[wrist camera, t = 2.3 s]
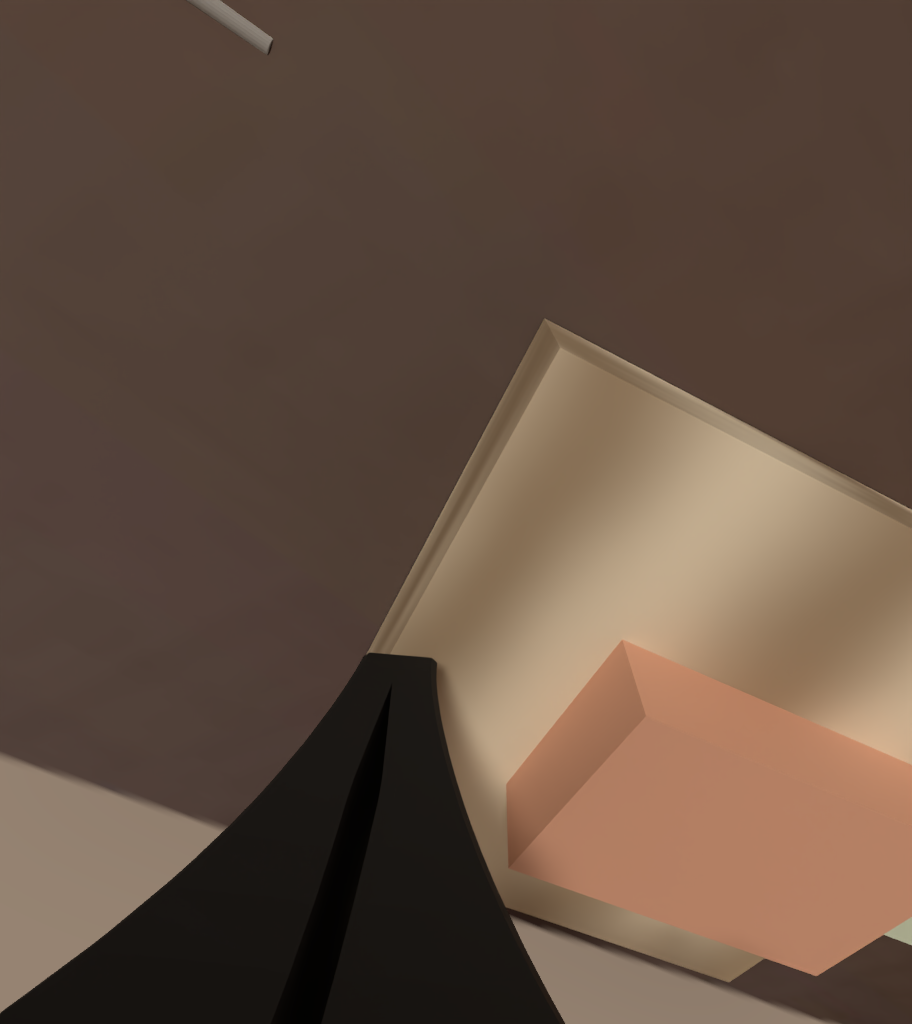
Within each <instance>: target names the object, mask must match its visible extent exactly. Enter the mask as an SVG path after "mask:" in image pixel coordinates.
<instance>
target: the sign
mask: <svg viewBox="0 0 912 1024" xmlns="http://www.w3.org/2000/svg"><path fill="white" fill-rule="evenodd" d="M186 1H188V2H189V3H191V4H192V5H194V6H195V7H197V8H198V9H200V10H201V11H203V12H204V13H206V14H207V15H209V16H210V17H212V18H213V19H214V20H216V21H217V22H219V23H220V24H222V25H223V26H225V27H226V28H228V29H229V30H231V31H232V32H234V33H235V34H237V35H238V36H240V37H241V38H243V39H244V40H246V41H247V42H249V43H250V44H252V45H253V46H254V47H256V48H257V49H259V50H260V51H262V52H263V53H265V54H267V55H268V52H269V49H270V46H271V43H272V41H273V39H272V38H271V37H270V36H268V35H267V34H266V33H264V32H263V31H262V30H260V29H259V28H257V27H256V26H255V25H253V24H252V23H250V22H249V21H248V20H246V19H245V18H244V17H242V16H241V15H239V14H238V13H237V12H235V11H234V10H232V9H231V8H230V7H228V6H227V5H225V4H224V3H223V2H221V1H220V0H186Z"/></svg>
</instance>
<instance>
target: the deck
mask: <svg viewBox="0 0 912 1024" xmlns="http://www.w3.org/2000/svg"><path fill="white" fill-rule="evenodd" d="M621 640H625V641H627V642H629V643H632V644H634V645H636V646H639V647H641V648H643V649H646V650H648V651H650V652H652V653H655V654H657V655H659V656H662V657H664V658H666V659H669V660H671V661H673V662H676V663H678V664H680V665H682V666H685V667H687V668H689V669H692V670H694V671H696V672H699V673H701V674H703V675H705V676H708V677H710V678H712V679H715V680H717V681H719V682H722V683H724V684H726V685H729V686H731V687H733V688H735V689H738V690H740V691H742V692H745V693H747V694H749V695H752V696H754V697H756V698H758V699H761V700H763V701H765V702H768V703H770V704H772V705H775V706H777V707H779V708H782V709H784V710H786V711H788V712H791V713H793V714H795V715H798V716H800V717H802V718H805V719H807V720H809V721H812V722H814V723H816V724H818V725H821V726H823V727H825V728H828V729H830V730H832V731H835V732H837V733H839V734H841V735H844V736H846V737H848V738H851V739H853V740H855V741H858V742H860V743H862V744H865V745H867V746H869V747H871V748H874V749H876V750H878V751H881V752H883V753H885V754H888V755H890V756H892V757H895V758H897V759H899V760H901V761H904V762H906V763H908V764H911V765H912V510H911V509H909V508H907V507H905V506H903V505H901V504H899V503H897V502H896V501H894V500H892V499H890V498H888V497H886V496H884V495H882V494H880V493H878V492H876V491H874V490H873V489H871V488H869V487H867V486H865V485H863V484H861V483H859V482H857V481H855V480H853V479H851V478H850V477H848V476H846V475H844V474H842V473H840V472H838V471H836V470H834V469H832V468H830V467H828V466H827V465H825V464H823V463H821V462H819V461H817V460H815V459H813V458H811V457H809V456H807V455H805V454H804V453H802V452H800V451H798V450H796V449H794V448H792V447H790V446H788V445H786V444H784V443H782V442H781V441H779V440H777V439H775V438H773V437H771V436H769V435H767V434H765V433H763V432H761V431H759V430H758V429H756V428H754V427H752V426H750V425H748V424H746V423H744V422H742V421H740V420H738V419H736V418H735V417H733V416H731V415H729V414H727V413H725V412H723V411H721V410H719V409H717V408H715V407H713V406H712V405H710V404H708V403H706V402H704V401H702V400H700V399H698V398H696V397H694V396H692V395H690V394H689V393H687V392H685V391H683V390H681V389H679V388H677V387H675V386H673V385H671V384H669V383H667V382H666V381H664V380H662V379H660V378H658V377H656V376H654V375H652V374H650V373H648V372H646V371H644V370H643V369H641V368H639V367H637V366H635V365H633V364H631V363H629V362H627V361H625V360H623V359H621V358H620V357H618V356H616V355H614V354H612V353H610V352H608V351H606V350H604V349H602V348H600V347H598V346H597V345H595V344H593V343H591V342H589V341H587V340H585V339H583V338H581V337H579V336H577V335H575V334H574V333H572V332H570V331H568V330H566V329H564V328H562V327H560V326H558V325H556V324H554V323H552V322H551V321H549V320H547V319H545V318H544V320H543V322H542V324H541V325H540V327H539V329H538V331H537V333H536V335H535V337H534V339H533V341H532V342H531V344H530V346H529V348H528V350H527V352H526V354H525V356H524V358H523V359H522V361H521V363H520V365H519V367H518V369H517V371H516V373H515V375H514V376H513V378H512V380H511V382H510V384H509V386H508V388H507V390H506V392H505V393H504V395H503V397H502V399H501V401H500V403H499V405H498V407H497V409H496V410H495V412H494V414H493V416H492V418H491V420H490V422H489V424H488V426H487V427H486V429H485V431H484V433H483V435H482V437H481V439H480V441H479V443H478V444H477V446H476V448H475V450H474V452H473V454H472V456H471V458H470V460H469V461H468V463H467V465H466V467H465V469H464V471H463V473H462V475H461V477H460V478H459V480H458V482H457V484H456V486H455V488H454V490H453V492H452V494H451V495H450V497H449V499H448V501H447V503H446V505H445V507H444V509H443V511H442V512H441V514H440V516H439V518H438V520H437V522H436V524H435V526H434V528H433V529H432V531H431V533H430V535H429V537H428V539H427V541H426V543H425V545H424V546H423V548H422V550H421V552H420V554H419V556H418V558H417V560H416V562H415V563H414V565H413V567H412V569H411V571H410V573H409V575H408V577H407V579H406V580H405V582H404V584H403V586H402V588H401V590H400V592H399V594H398V596H397V598H396V599H395V601H394V603H393V605H392V607H391V609H390V611H389V613H388V615H387V616H386V618H385V620H384V622H383V624H382V626H381V628H380V630H379V632H378V633H377V635H376V637H375V639H374V641H373V643H372V645H371V647H370V649H369V650H368V652H367V654H368V653H369V652H370V653H382V654H394V655H406V656H418V657H430V658H433V659H434V660H435V661H436V662H437V693H438V701H439V708H440V714H441V720H442V725H443V729H444V734H445V738H446V742H447V746H448V751H449V755H450V759H451V762H452V766H453V770H454V773H455V777H456V780H457V783H458V786H459V790H460V793H461V796H462V799H463V802H464V805H465V808H466V811H467V814H468V817H469V820H470V823H471V825H472V828H473V831H474V833H475V836H476V839H477V841H478V844H479V846H480V849H481V852H482V854H483V857H484V859H485V861H486V864H487V866H488V869H489V871H490V873H491V876H492V878H493V881H494V883H495V885H496V888H497V890H498V892H499V894H500V896H501V898H502V900H503V903H504V905H505V907H507V908H510V909H513V910H516V911H519V912H522V913H525V914H528V915H531V916H534V917H537V918H540V919H543V920H546V921H549V922H552V923H555V924H558V925H561V926H564V927H567V928H570V929H573V930H576V931H578V932H581V933H584V934H587V935H590V936H593V937H596V938H599V939H602V940H605V941H608V942H611V943H614V944H617V945H620V946H623V947H626V948H629V949H632V950H635V951H638V952H641V953H644V954H647V955H650V956H653V957H656V958H658V959H661V960H664V961H667V962H670V963H673V964H676V965H679V966H682V967H685V968H688V969H691V970H694V971H697V972H700V973H703V974H706V975H709V976H712V977H715V978H718V979H721V980H724V981H727V982H730V981H732V980H733V979H735V978H736V977H738V976H739V975H741V974H742V973H744V972H745V971H746V970H748V969H749V968H751V967H752V966H754V965H755V964H757V963H758V962H760V961H761V960H763V959H764V958H763V957H760V956H758V955H755V954H752V953H749V952H746V951H743V950H740V949H738V948H735V947H732V946H729V945H726V944H723V943H720V942H718V941H715V940H712V939H709V938H706V937H703V936H700V935H697V934H695V933H692V932H689V931H686V930H683V929H680V928H677V927H675V926H672V925H669V924H666V923H663V922H660V921H657V920H655V919H652V918H649V917H646V916H643V915H640V914H637V913H635V912H632V911H629V910H626V909H623V908H620V907H617V906H615V905H612V904H609V903H606V902H603V901H600V900H597V899H595V898H592V897H589V896H586V895H583V894H580V893H577V892H574V891H572V890H569V889H566V888H563V887H560V886H557V885H554V884H552V883H549V882H546V881H543V880H540V879H537V878H534V877H532V876H529V875H526V874H523V873H520V872H517V871H514V870H512V869H509V868H508V834H507V796H506V784H507V782H508V781H509V780H510V779H511V777H512V776H513V775H514V774H515V772H516V771H517V770H518V769H519V767H520V766H521V765H522V764H523V762H524V761H525V760H526V759H527V757H528V756H529V755H530V754H531V752H532V751H533V750H534V749H535V747H536V746H537V745H538V744H539V742H540V741H541V740H542V739H543V737H544V736H545V735H546V734H547V732H548V731H549V730H550V729H551V727H552V726H553V725H554V724H555V722H556V721H557V720H558V719H559V717H560V716H561V715H562V714H563V712H564V711H565V710H566V709H567V708H568V706H569V705H570V704H571V703H572V701H573V700H574V699H575V698H576V696H577V695H578V694H579V693H580V691H581V690H582V689H583V688H584V686H585V685H586V684H587V683H588V681H589V680H590V679H591V678H592V676H593V675H594V674H595V673H596V671H597V670H598V669H599V668H600V666H601V665H602V664H603V663H604V661H605V660H606V659H607V658H608V656H609V655H610V654H611V653H612V651H613V650H614V649H615V648H616V646H617V645H618V644H619V643H620V641H621ZM367 654H366V655H367Z"/></svg>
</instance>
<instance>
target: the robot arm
mask: <svg viewBox="0 0 912 1024" xmlns="http://www.w3.org/2000/svg"><path fill="white" fill-rule="evenodd" d="M0 1024H565V1023H564V1021H563V1019H562V1017H561V1015H560V1013H559V1012H558V1010H557V1008H556V1006H555V1005H554V1003H553V1001H552V999H551V997H550V995H549V994H548V992H547V990H546V988H545V986H544V984H543V982H542V980H541V978H540V976H539V974H538V972H537V971H536V969H535V967H534V965H533V963H532V961H531V959H530V957H529V955H528V954H527V951H526V949H525V948H524V945H523V943H522V941H521V939H520V937H519V935H518V932H517V931H516V928H515V926H514V924H513V922H512V920H511V918H510V915H509V913H508V911H507V909H506V907H505V905H504V903H503V900H502V898H501V896H500V894H499V892H498V890H497V888H496V885H495V883H494V881H493V878H492V876H491V873H490V871H489V869H488V866H487V864H486V861H485V859H484V857H483V854H482V852H481V849H480V846H479V844H478V841H477V839H476V836H475V833H474V831H473V828H472V825H471V823H470V820H469V817H468V814H467V811H466V808H465V805H464V802H463V799H462V796H461V793H460V790H459V786H458V783H457V780H456V777H455V773H454V770H453V766H452V762H451V759H450V755H449V751H448V746H447V742H446V738H445V734H444V729H443V725H442V720H441V714H440V708H439V701H438V693H437V662H436V661H435V660H434V659H433V658H430V657H418V656H406V655H394V654H382V653H370V652H369V653H368V654H367V655H365V656H364V657H363V659H362V660H361V662H360V664H359V666H358V667H357V669H356V671H355V672H354V674H353V676H352V677H351V679H350V680H349V682H348V683H347V685H346V686H345V688H344V689H343V691H342V692H341V694H340V695H339V697H338V698H337V700H336V701H335V702H334V704H333V705H332V707H331V708H330V709H329V711H328V712H327V713H326V715H325V716H324V717H323V719H322V720H321V721H320V723H319V724H318V725H317V727H316V728H315V729H314V731H313V732H312V733H311V735H310V736H309V737H308V739H307V740H306V741H305V742H304V744H303V745H302V746H301V747H300V748H299V750H298V751H297V752H296V753H295V754H294V755H293V757H292V758H291V759H290V760H289V761H288V763H287V764H286V765H285V766H284V767H283V769H282V770H281V771H280V772H279V773H278V775H277V776H276V777H275V778H274V779H273V780H272V781H271V782H270V784H269V785H268V786H267V787H266V788H265V789H264V790H263V791H262V792H261V793H260V795H259V796H258V797H257V798H256V799H255V800H254V801H253V802H252V803H251V804H250V805H249V806H248V807H247V808H246V809H245V810H244V811H243V812H242V813H241V814H240V815H239V816H238V817H237V819H236V820H235V821H234V822H233V823H232V824H231V825H230V826H229V827H228V828H227V829H225V830H224V831H223V832H222V833H221V834H220V835H219V836H218V837H217V838H216V839H215V840H214V841H213V842H212V843H211V844H210V845H209V846H208V847H207V848H206V849H204V850H203V851H202V852H201V853H200V854H199V855H198V856H197V857H196V858H195V859H194V860H193V861H192V862H191V863H189V864H188V865H187V866H186V867H185V868H184V869H183V870H182V871H181V872H179V873H178V874H177V875H176V876H175V877H174V878H173V879H172V880H170V881H169V882H168V883H167V884H166V885H165V886H163V887H162V888H161V889H160V890H159V891H157V892H156V893H155V894H154V895H152V896H151V897H150V898H149V899H148V900H146V901H145V902H144V903H143V904H142V905H140V906H139V907H138V908H137V909H136V910H134V911H133V912H132V913H131V914H130V915H128V916H127V917H126V918H125V919H124V920H122V921H121V922H120V923H119V924H118V925H116V926H115V927H114V928H113V929H112V930H110V931H109V932H108V933H107V934H105V935H104V936H103V937H102V938H100V939H99V940H98V941H96V942H95V943H94V944H92V945H91V946H90V947H89V948H87V949H86V950H85V951H83V952H82V953H80V954H79V955H78V956H77V957H75V958H74V959H72V960H71V961H70V962H68V963H67V964H66V965H64V966H63V967H62V968H60V969H59V970H58V971H56V972H55V973H54V974H52V975H51V976H50V977H48V978H47V979H46V980H44V981H43V982H41V983H40V984H39V985H37V986H36V987H35V988H33V989H32V990H31V991H29V992H28V993H27V994H25V995H24V996H23V997H21V998H20V999H18V1000H17V1001H16V1002H14V1003H13V1004H12V1005H10V1006H9V1007H7V1008H6V1009H5V1010H4V1011H2V1012H1V1013H0Z"/></svg>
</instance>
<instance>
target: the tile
mask: <svg viewBox="0 0 912 1024" xmlns="http://www.w3.org/2000/svg"><path fill="white" fill-rule="evenodd" d="M506 796H507V834H508V868H509V869H512V870H514V871H517V872H520V873H523V874H526V875H529V876H532V877H534V878H537V879H540V880H543V881H546V882H549V883H552V884H554V885H557V886H560V887H563V888H566V889H569V890H572V891H574V892H577V893H580V894H583V895H586V896H589V897H592V898H595V899H597V900H600V901H603V902H606V903H609V904H612V905H615V906H617V907H620V908H623V909H626V910H629V911H632V912H635V913H637V914H640V915H643V916H646V917H649V918H652V919H655V920H657V921H660V922H663V923H666V924H669V925H672V926H675V927H677V928H680V929H683V930H686V931H689V932H692V933H695V934H697V935H700V936H703V937H706V938H709V939H712V940H715V941H718V942H720V943H723V944H726V945H729V946H732V947H735V948H738V949H740V950H743V951H746V952H749V953H752V954H755V955H758V956H760V957H763V958H766V959H769V960H772V961H775V962H778V963H780V964H783V965H786V966H789V967H792V968H795V969H798V970H800V971H803V972H806V973H809V974H812V975H815V976H818V975H819V974H821V973H822V972H824V971H826V970H827V969H829V968H830V967H832V966H834V965H835V964H837V963H838V962H840V961H842V960H843V959H845V958H846V957H848V956H850V955H851V954H853V953H855V952H856V951H858V950H859V949H861V948H863V947H864V946H866V945H867V944H869V943H871V942H872V941H874V940H875V939H877V938H879V937H880V936H882V935H883V934H885V933H887V932H888V931H890V930H892V929H893V928H895V927H896V926H898V925H900V924H901V923H903V922H904V921H906V920H908V919H909V918H911V917H912V765H911V764H908V763H906V762H904V761H901V760H899V759H897V758H895V757H892V756H890V755H888V754H885V753H883V752H881V751H878V750H876V749H874V748H871V747H869V746H867V745H865V744H862V743H860V742H858V741H855V740H853V739H851V738H848V737H846V736H844V735H841V734H839V733H837V732H835V731H832V730H830V729H828V728H825V727H823V726H821V725H818V724H816V723H814V722H812V721H809V720H807V719H805V718H802V717H800V716H798V715H795V714H793V713H791V712H788V711H786V710H784V709H782V708H779V707H777V706H775V705H772V704H770V703H768V702H765V701H763V700H761V699H758V698H756V697H754V696H752V695H749V694H747V693H745V692H742V691H740V690H738V689H735V688H733V687H731V686H729V685H726V684H724V683H722V682H719V681H717V680H715V679H712V678H710V677H708V676H705V675H703V674H701V673H699V672H696V671H694V670H692V669H689V668H687V667H685V666H682V665H680V664H678V663H676V662H673V661H671V660H669V659H666V658H664V657H662V656H659V655H657V654H655V653H652V652H650V651H648V650H646V649H643V648H641V647H639V646H636V645H634V644H632V643H629V642H627V641H625V640H621V641H620V643H619V644H618V645H617V646H616V648H615V649H614V650H613V651H612V653H611V654H610V655H609V656H608V658H607V659H606V660H605V661H604V663H603V664H602V665H601V666H600V668H599V669H598V670H597V671H596V673H595V674H594V675H593V676H592V678H591V679H590V680H589V681H588V683H587V684H586V685H585V686H584V688H583V689H582V690H581V691H580V693H579V694H578V695H577V696H576V698H575V699H574V700H573V701H572V703H571V704H570V705H569V706H568V708H567V709H566V710H565V711H564V712H563V714H562V715H561V716H560V717H559V719H558V720H557V721H556V722H555V724H554V725H553V726H552V727H551V729H550V730H549V731H548V732H547V734H546V735H545V736H544V737H543V739H542V740H541V741H540V742H539V744H538V745H537V746H536V747H535V749H534V750H533V751H532V752H531V754H530V755H529V756H528V757H527V759H526V760H525V761H524V762H523V764H522V765H521V766H520V767H519V769H518V770H517V771H516V772H515V774H514V775H513V776H512V777H511V779H510V780H509V781H508V782H507V784H506Z"/></svg>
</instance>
